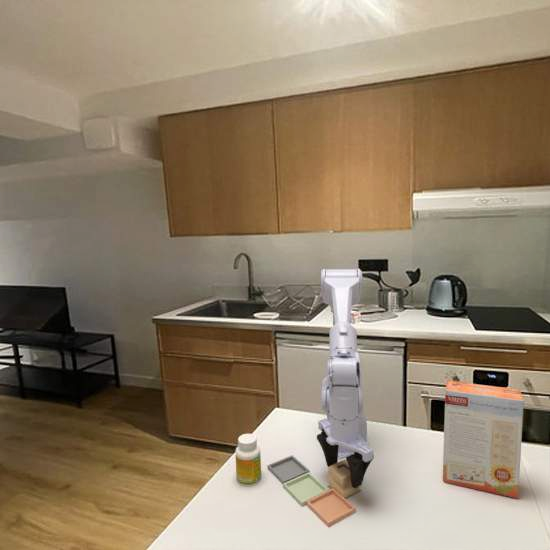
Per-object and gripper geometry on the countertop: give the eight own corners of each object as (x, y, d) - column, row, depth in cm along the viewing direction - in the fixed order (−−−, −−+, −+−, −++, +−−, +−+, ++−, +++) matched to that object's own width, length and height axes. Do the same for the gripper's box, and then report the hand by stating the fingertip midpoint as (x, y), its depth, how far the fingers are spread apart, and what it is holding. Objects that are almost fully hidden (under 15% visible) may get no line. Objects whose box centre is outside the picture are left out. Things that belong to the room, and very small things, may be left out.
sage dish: (308, 476, 88) (308, 472, 87) (328, 494, 82) (328, 489, 82) (283, 488, 84) (282, 483, 84) (301, 507, 78) (301, 502, 78)
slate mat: (345, 478, 87) (345, 477, 87) (361, 491, 82) (361, 490, 82) (327, 487, 84) (327, 486, 84) (343, 501, 80) (343, 500, 80)
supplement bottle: (258, 489, 84) (256, 446, 83) (233, 486, 85) (231, 444, 84) (263, 473, 89) (262, 432, 88) (240, 470, 90) (238, 430, 89)
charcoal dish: (292, 459, 94) (292, 455, 94) (309, 474, 88) (309, 470, 88) (267, 469, 90) (267, 465, 90) (283, 486, 85) (283, 481, 85)
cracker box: (514, 481, 84) (521, 388, 81) (518, 500, 79) (525, 401, 76) (442, 466, 90) (446, 378, 87) (441, 482, 85) (445, 389, 82)
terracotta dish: (332, 492, 82) (332, 488, 82) (355, 513, 77) (355, 508, 76) (306, 506, 79) (306, 501, 79) (328, 528, 73) (328, 523, 73)
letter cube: (344, 478, 86) (344, 459, 86) (359, 490, 82) (359, 470, 82) (328, 486, 84) (328, 466, 83) (342, 498, 80) (342, 478, 79)
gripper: (306, 405, 85) (307, 464, 87) (354, 436, 73) (353, 503, 75) (332, 397, 88) (332, 453, 90) (381, 425, 76) (380, 489, 78)
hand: (344, 475), depth 83 cm, fingers open, 7 cm apart
